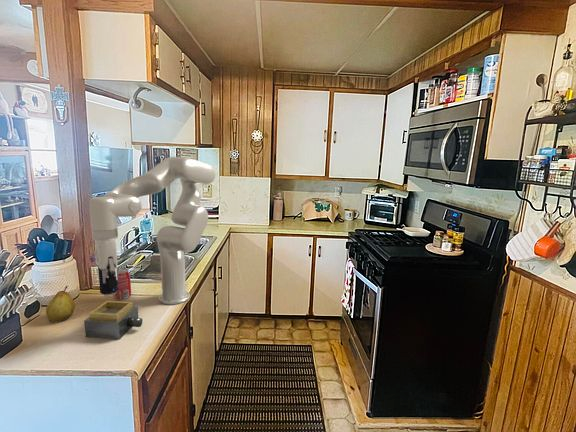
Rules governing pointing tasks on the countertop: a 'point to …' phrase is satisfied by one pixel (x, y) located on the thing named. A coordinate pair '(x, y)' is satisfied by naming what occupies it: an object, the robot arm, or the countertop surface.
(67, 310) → the fruit
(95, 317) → the box
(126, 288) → the soda can
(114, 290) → the beverage can
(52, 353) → the countertop surface
